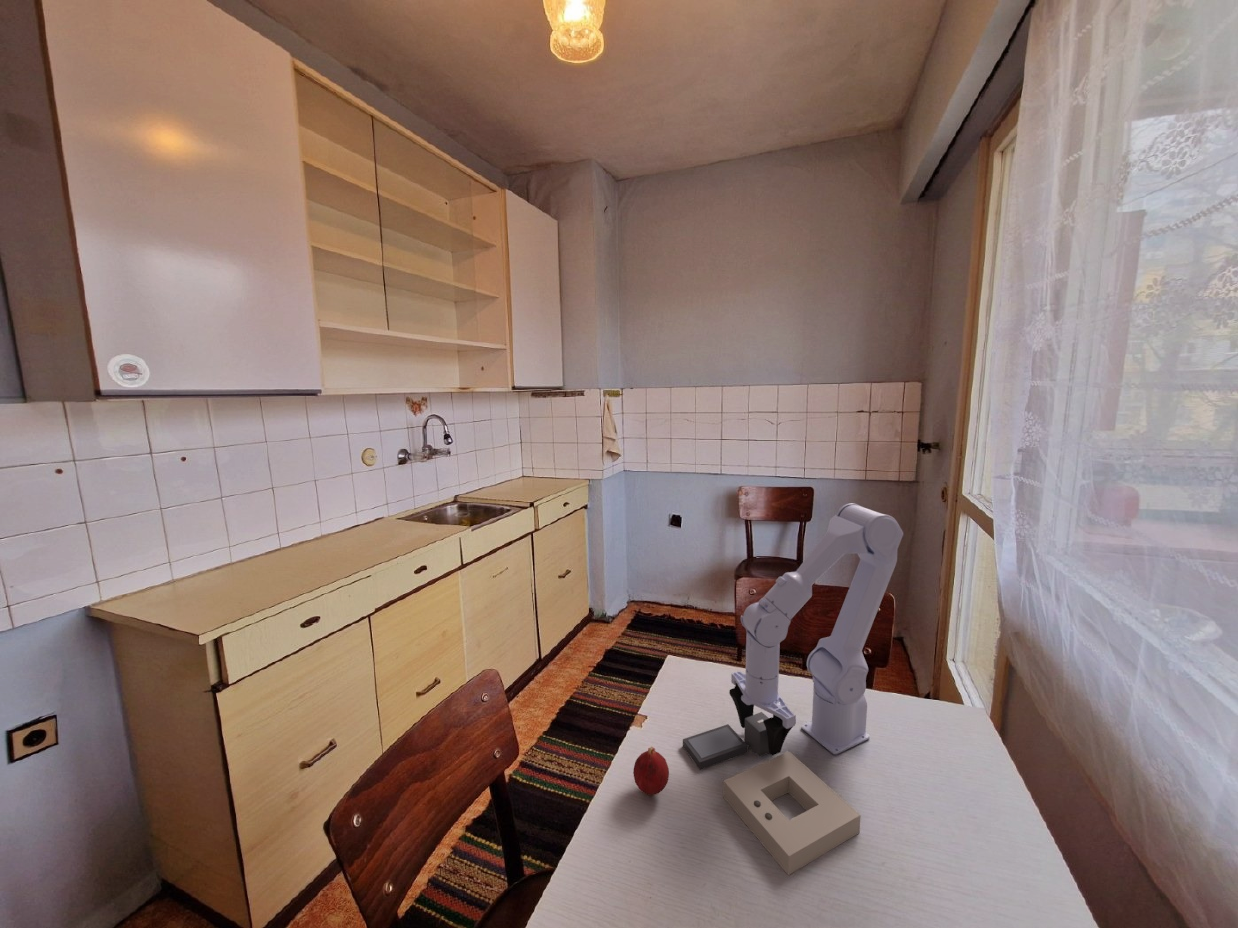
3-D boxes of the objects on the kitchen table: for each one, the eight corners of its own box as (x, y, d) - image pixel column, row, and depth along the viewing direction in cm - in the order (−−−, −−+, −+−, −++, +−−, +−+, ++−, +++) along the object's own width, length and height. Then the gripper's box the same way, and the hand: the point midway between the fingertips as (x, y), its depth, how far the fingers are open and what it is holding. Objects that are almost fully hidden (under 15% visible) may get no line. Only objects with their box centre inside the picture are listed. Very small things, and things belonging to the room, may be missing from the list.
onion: (667, 810, 74) (666, 765, 73) (630, 804, 75) (630, 760, 74) (670, 780, 80) (670, 738, 79) (636, 775, 81) (636, 734, 80)
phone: (728, 733, 91) (728, 723, 91) (747, 755, 86) (747, 744, 86) (682, 748, 88) (682, 738, 87) (699, 772, 82) (699, 761, 82)
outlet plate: (788, 766, 82) (789, 750, 82) (859, 832, 70) (860, 813, 69) (723, 796, 77) (723, 779, 76) (788, 875, 64) (789, 855, 64)
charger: (760, 735, 90) (761, 711, 89) (776, 749, 86) (776, 724, 86) (744, 742, 88) (744, 717, 88) (759, 757, 85) (759, 731, 84)
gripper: (719, 656, 90) (718, 720, 92) (774, 700, 77) (771, 774, 79) (748, 647, 93) (746, 709, 95) (806, 687, 80) (802, 759, 82)
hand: (760, 738), depth 87 cm, fingers open, 7 cm apart
